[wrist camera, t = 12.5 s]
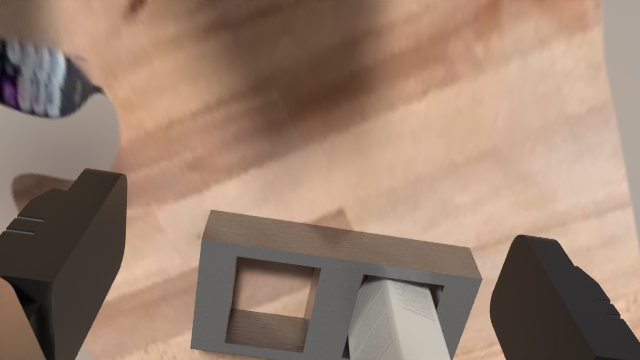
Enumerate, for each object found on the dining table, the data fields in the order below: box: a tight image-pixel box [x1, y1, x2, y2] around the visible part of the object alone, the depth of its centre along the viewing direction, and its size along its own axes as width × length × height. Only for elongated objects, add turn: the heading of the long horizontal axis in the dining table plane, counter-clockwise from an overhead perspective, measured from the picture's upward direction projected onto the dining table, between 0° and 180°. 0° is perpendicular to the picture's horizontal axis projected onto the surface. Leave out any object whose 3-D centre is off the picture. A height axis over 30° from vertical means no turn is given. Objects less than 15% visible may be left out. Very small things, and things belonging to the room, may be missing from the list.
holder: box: [190, 210, 482, 360], centre depth 46 cm, size 20×10×4 cm, turn 80°
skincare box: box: [348, 275, 451, 360], centre depth 42 cm, size 6×4×12 cm
